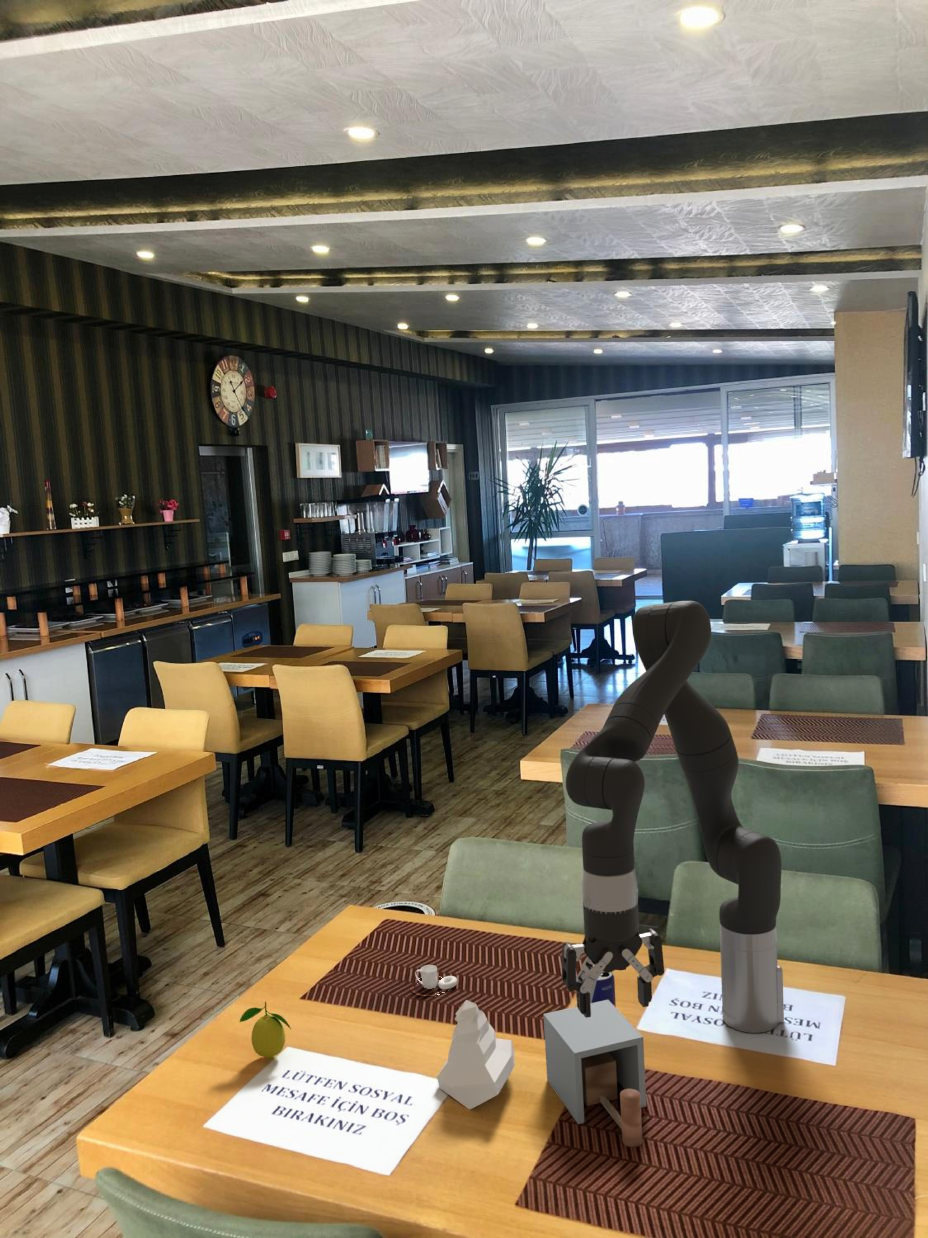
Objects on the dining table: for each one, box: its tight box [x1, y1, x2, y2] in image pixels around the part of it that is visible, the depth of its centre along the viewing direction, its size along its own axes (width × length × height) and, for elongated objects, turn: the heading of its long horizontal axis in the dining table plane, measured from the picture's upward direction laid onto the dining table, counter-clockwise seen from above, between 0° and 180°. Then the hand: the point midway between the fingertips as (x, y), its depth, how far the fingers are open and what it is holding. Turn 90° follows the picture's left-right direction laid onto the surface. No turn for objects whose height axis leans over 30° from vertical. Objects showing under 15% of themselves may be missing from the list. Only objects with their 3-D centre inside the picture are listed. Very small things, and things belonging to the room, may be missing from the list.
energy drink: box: [588, 965, 617, 1008], centre depth 168 cm, size 5×5×12 cm
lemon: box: [238, 1001, 292, 1060], centre depth 169 cm, size 7×6×10 cm
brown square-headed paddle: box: [581, 1052, 643, 1148], centre depth 149 cm, size 5×16×7 cm, turn 17°
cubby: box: [543, 1000, 647, 1125], centre depth 154 cm, size 11×12×11 cm
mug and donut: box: [414, 964, 458, 996], centre depth 191 cm, size 9×8×4 cm
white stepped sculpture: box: [436, 999, 515, 1111], centre depth 158 cm, size 12×15×14 cm
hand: (614, 1009), depth 141 cm, fingers open, 8 cm apart
